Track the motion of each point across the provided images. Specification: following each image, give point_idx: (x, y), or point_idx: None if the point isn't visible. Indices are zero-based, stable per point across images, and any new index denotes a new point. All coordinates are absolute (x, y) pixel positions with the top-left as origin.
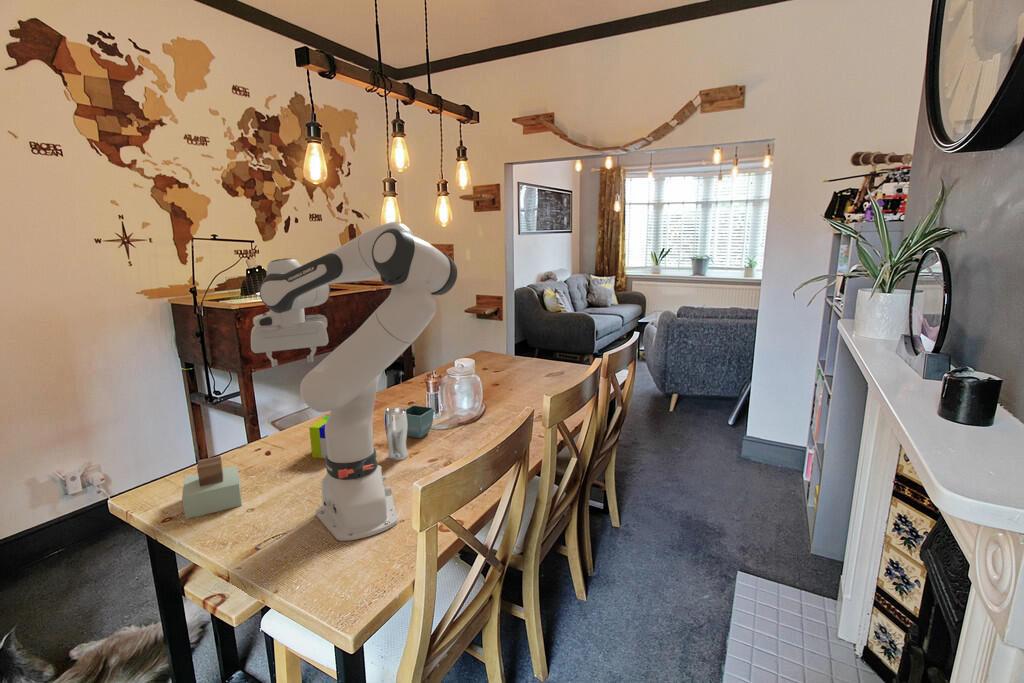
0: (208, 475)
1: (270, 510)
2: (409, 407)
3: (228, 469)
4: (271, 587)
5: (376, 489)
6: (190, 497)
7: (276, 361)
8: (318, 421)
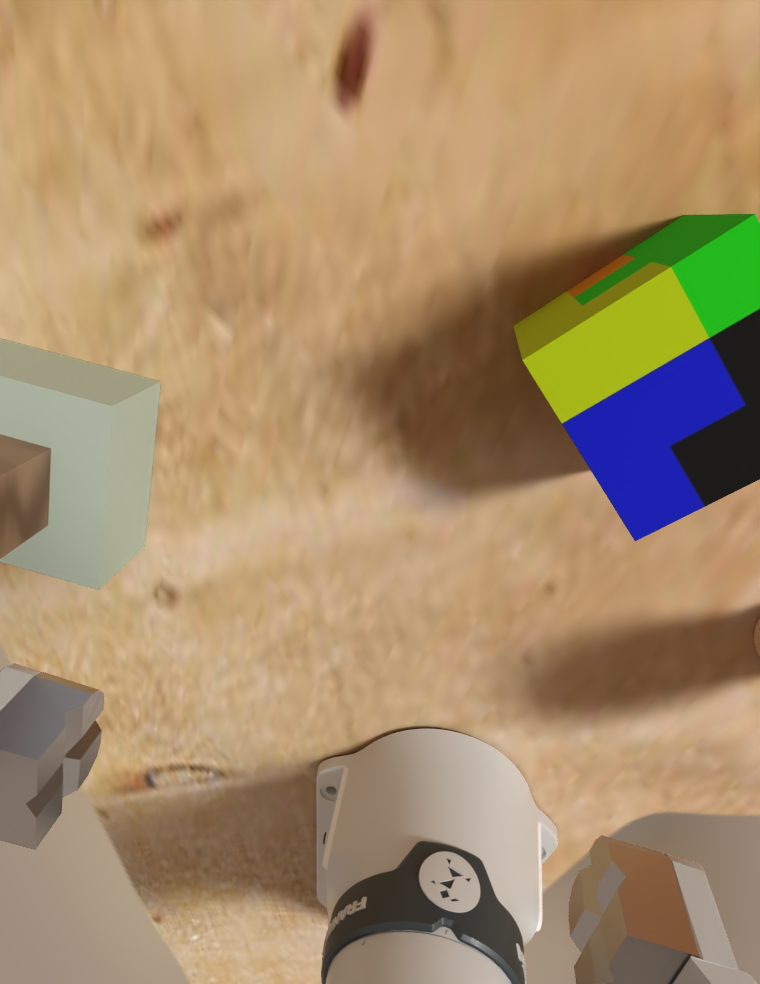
0: None
1: (217, 643)
2: None
3: (73, 423)
4: (151, 905)
5: None
6: None
7: (28, 834)
8: (627, 296)
